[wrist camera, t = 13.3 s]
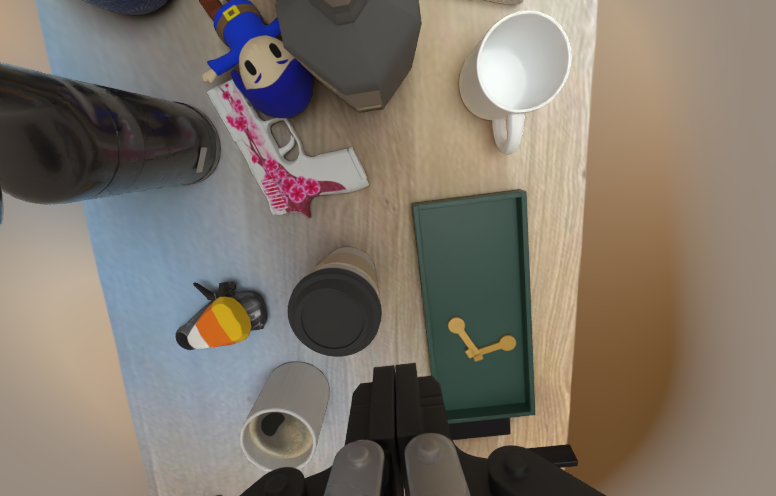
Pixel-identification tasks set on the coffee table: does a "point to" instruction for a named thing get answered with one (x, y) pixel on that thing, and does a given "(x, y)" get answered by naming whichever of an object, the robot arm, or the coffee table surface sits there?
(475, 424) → the bracket
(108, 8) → the planter
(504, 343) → the key
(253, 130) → the handgun
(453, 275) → the tray
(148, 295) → the coffee table surface
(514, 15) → the mug
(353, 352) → the coffee cup
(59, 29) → the coffee table surface
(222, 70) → the toy
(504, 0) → the brown flat bar
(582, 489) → the robot arm
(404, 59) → the liquor
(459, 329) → the key
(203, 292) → the ribbed torch
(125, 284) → the coffee table surface
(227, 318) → the candy corn
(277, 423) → the mug
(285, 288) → the coffee table surface
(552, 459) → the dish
